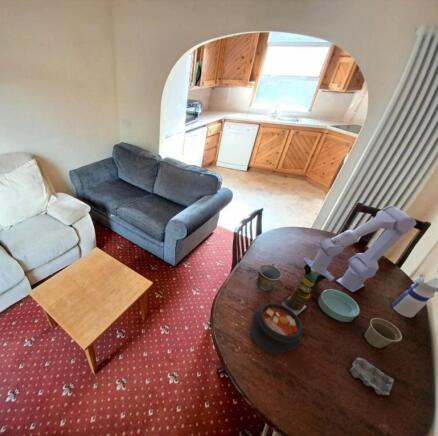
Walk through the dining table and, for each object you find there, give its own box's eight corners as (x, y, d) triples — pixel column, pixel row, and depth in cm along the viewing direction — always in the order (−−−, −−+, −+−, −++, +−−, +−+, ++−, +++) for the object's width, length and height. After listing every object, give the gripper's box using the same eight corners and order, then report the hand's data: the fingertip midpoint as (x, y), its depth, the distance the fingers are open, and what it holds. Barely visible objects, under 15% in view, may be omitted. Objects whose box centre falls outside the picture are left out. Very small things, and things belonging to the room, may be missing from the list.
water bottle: (389, 298, 112) (423, 260, 98) (413, 307, 108) (453, 269, 94) (390, 310, 107) (428, 273, 92) (416, 320, 102) (459, 283, 88)
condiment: (306, 306, 109) (317, 289, 102) (296, 315, 105) (306, 299, 98) (291, 295, 114) (300, 279, 107) (281, 304, 110) (289, 287, 103)
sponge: (310, 276, 123) (313, 270, 120) (318, 283, 120) (322, 277, 117) (301, 281, 121) (304, 275, 118) (309, 287, 117) (312, 281, 115)
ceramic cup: (272, 297, 113) (278, 283, 107) (251, 286, 118) (256, 273, 112) (278, 280, 122) (285, 266, 116) (258, 271, 127) (264, 257, 121)
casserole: (281, 369, 87) (289, 358, 82) (238, 331, 99) (242, 320, 94) (310, 329, 100) (318, 317, 95) (269, 299, 112) (274, 288, 107)
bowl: (330, 291, 116) (334, 285, 113) (361, 315, 105) (367, 309, 102) (310, 301, 111) (314, 295, 108) (341, 327, 100) (346, 321, 98)
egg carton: (346, 372, 86) (352, 367, 84) (354, 359, 90) (359, 353, 88) (383, 400, 79) (390, 395, 77) (390, 384, 83) (396, 379, 81)
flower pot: (391, 357, 90) (405, 345, 85) (361, 345, 94) (372, 333, 89) (385, 336, 97) (398, 324, 92) (357, 325, 101) (368, 314, 96)
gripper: (302, 254, 116) (292, 272, 123) (331, 274, 105) (319, 293, 112) (312, 249, 118) (302, 268, 126) (341, 269, 107) (329, 288, 115)
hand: (310, 280), depth 119 cm, fingers closed on sponge, 4 cm apart
